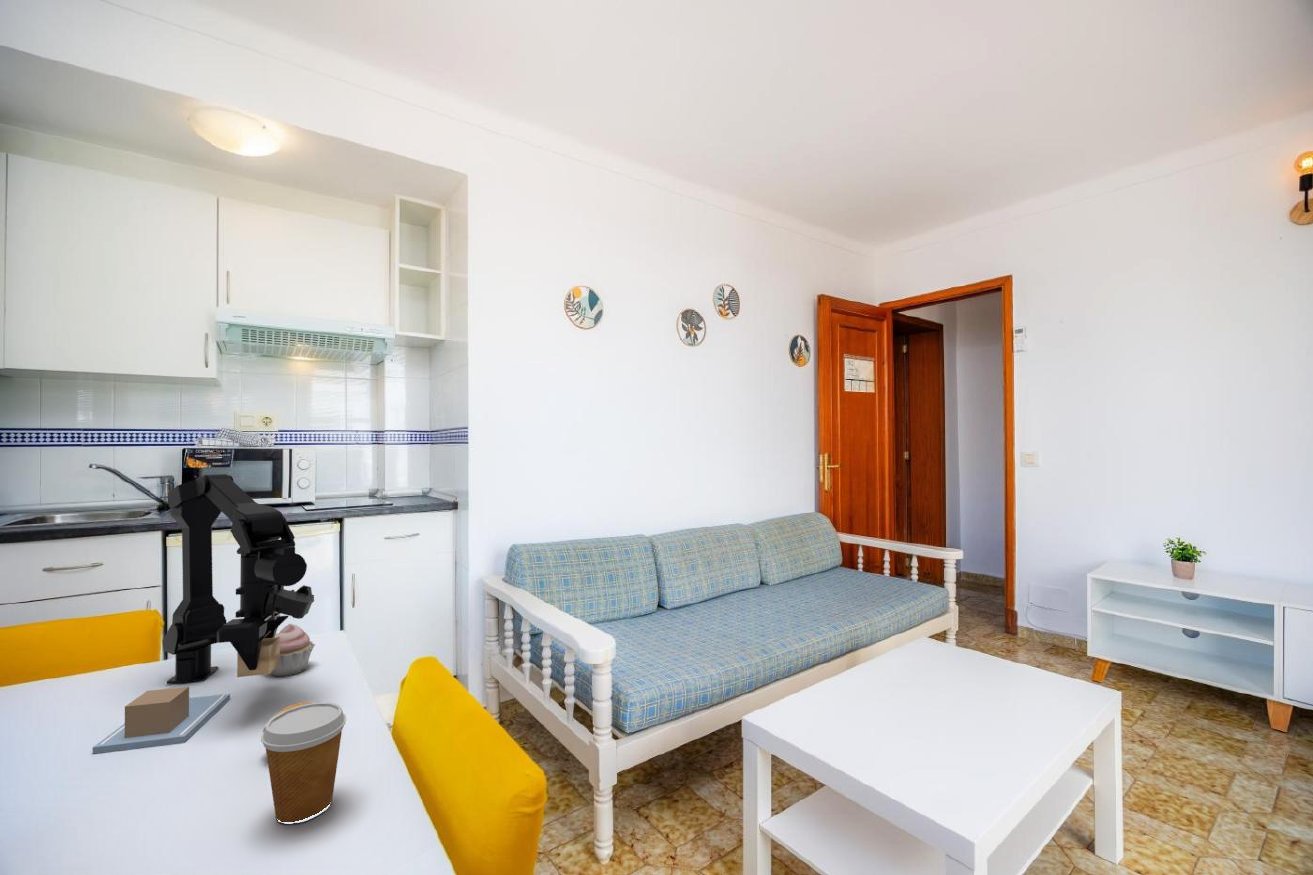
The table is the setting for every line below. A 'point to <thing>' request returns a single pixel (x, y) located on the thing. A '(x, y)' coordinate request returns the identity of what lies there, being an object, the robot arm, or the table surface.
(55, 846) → the table surface
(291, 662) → the cupcake
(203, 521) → the robot arm
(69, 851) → the table surface
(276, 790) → the disposable coffee cup
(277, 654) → the oak cube
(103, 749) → the blueprint board
